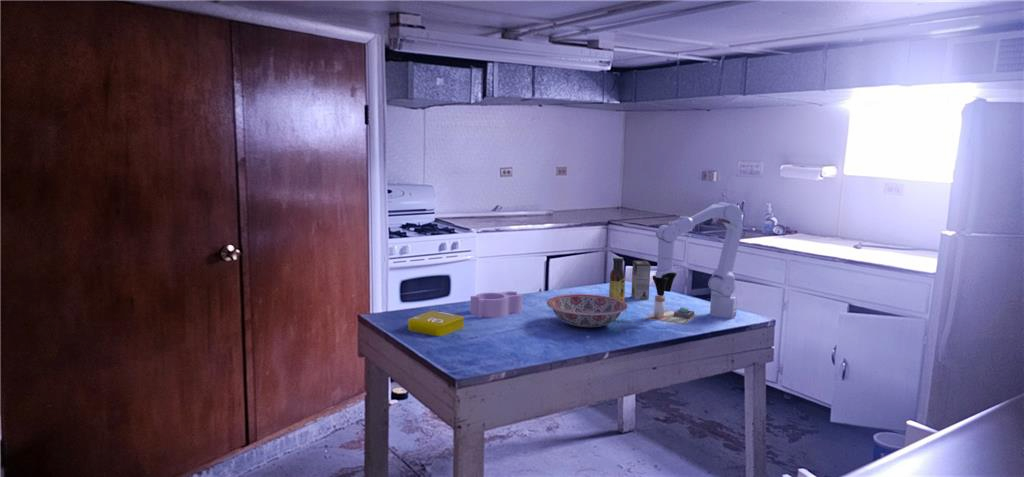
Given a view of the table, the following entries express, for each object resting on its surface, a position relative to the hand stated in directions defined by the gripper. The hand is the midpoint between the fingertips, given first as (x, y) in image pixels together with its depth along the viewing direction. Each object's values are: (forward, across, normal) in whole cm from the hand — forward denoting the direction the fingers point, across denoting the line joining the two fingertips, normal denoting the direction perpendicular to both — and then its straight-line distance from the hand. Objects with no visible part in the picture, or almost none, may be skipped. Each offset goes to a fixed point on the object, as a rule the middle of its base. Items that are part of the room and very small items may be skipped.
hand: (663, 293), depth 247 cm
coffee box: (+10, -26, -19) cm, 34 cm away
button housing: (+9, -7, +6) cm, 13 cm away
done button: (+9, -7, +6) cm, 13 cm away
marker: (+9, +1, -1) cm, 9 cm away
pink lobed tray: (+10, +27, -57) cm, 64 cm away
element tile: (+10, +57, -63) cm, 86 cm away
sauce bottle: (+10, -10, -23) cm, 27 cm away
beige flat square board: (+10, -3, +2) cm, 11 cm away
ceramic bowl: (+10, +22, -21) cm, 33 cm away
